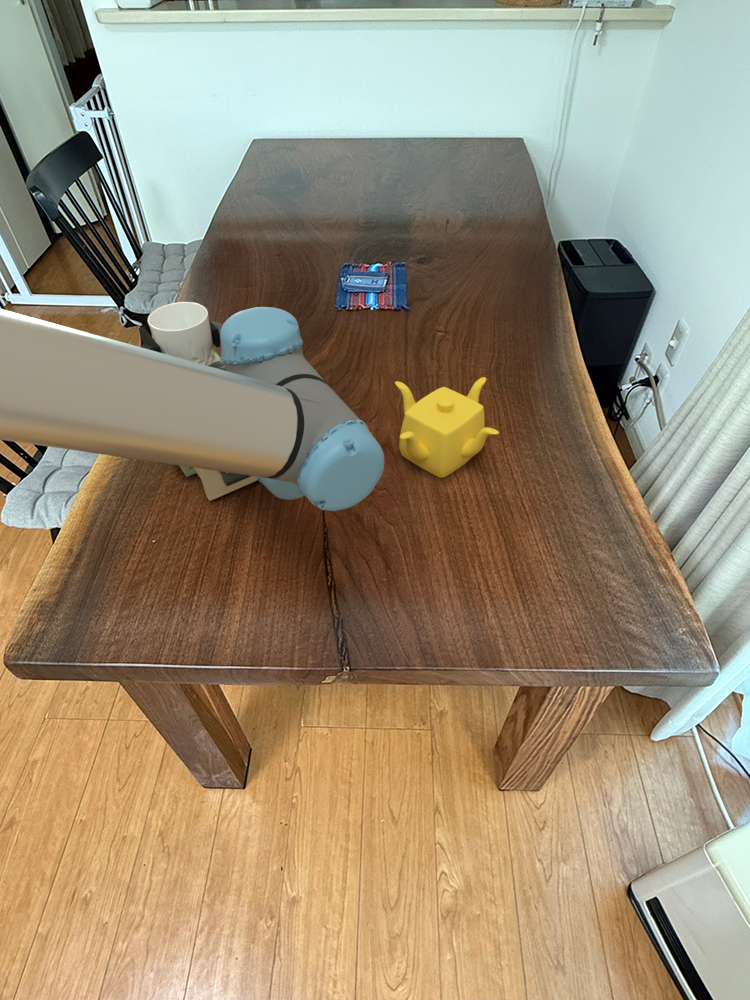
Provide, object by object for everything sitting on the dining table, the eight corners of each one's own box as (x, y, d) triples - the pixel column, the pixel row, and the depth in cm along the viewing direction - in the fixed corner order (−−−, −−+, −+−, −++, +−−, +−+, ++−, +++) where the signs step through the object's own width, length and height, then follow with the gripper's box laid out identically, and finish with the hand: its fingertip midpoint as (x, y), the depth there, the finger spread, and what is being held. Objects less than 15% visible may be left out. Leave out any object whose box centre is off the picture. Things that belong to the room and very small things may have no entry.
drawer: (296, 489, 87) (290, 442, 80) (224, 522, 82) (211, 475, 76) (241, 424, 97) (232, 378, 91) (174, 450, 93) (159, 404, 87)
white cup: (155, 387, 85) (134, 324, 78) (187, 360, 90) (170, 297, 83) (202, 399, 83) (185, 335, 76) (232, 370, 88) (219, 307, 81)
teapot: (398, 484, 88) (400, 432, 82) (391, 425, 98) (392, 375, 92) (495, 480, 89) (505, 428, 82) (479, 421, 99) (486, 371, 92)
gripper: (167, 461, 71) (109, 373, 84) (316, 402, 79) (241, 330, 92) (149, 410, 65) (90, 324, 79) (311, 352, 73) (233, 283, 87)
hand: (172, 327), depth 85 cm, fingers closed on white cup, 8 cm apart
